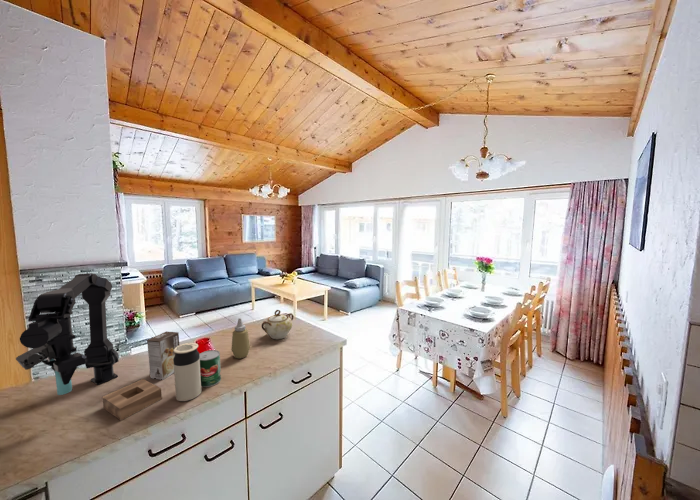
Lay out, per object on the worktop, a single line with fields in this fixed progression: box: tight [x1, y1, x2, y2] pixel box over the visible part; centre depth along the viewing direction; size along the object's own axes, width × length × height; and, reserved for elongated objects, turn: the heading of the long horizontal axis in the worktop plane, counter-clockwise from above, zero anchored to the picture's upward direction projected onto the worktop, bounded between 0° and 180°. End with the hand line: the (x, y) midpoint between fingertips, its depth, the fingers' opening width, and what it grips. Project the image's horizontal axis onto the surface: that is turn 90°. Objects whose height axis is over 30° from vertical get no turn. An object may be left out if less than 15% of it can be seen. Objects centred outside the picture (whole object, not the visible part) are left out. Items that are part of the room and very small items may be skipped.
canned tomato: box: [199, 349, 222, 388], centre depth 107 cm, size 8×8×11 cm
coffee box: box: [146, 331, 180, 381], centre depth 112 cm, size 9×6×16 cm
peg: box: [54, 371, 73, 396], centre depth 84 cm, size 3×3×9 cm
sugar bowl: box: [261, 309, 295, 340], centre depth 149 cm, size 20×15×15 cm
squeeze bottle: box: [230, 317, 251, 359], centre depth 127 cm, size 8×8×18 cm
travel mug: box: [173, 342, 202, 402], centre depth 98 cm, size 8×8×18 cm
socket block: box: [101, 378, 163, 421], centre depth 94 cm, size 12×12×4 cm
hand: (64, 382), depth 85 cm, fingers closed on peg, 3 cm apart
